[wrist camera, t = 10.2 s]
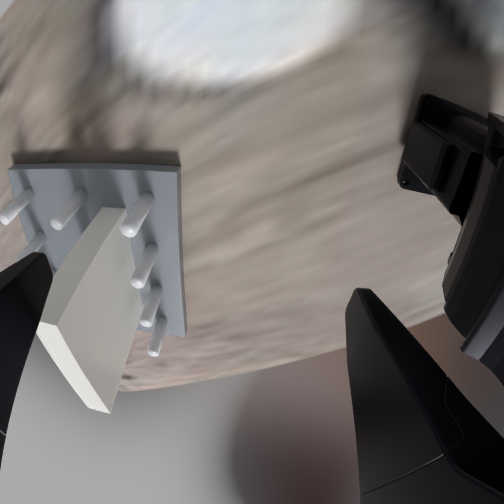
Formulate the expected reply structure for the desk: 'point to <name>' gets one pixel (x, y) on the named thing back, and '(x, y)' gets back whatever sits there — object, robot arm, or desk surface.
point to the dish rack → (134, 226)
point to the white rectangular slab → (93, 311)
